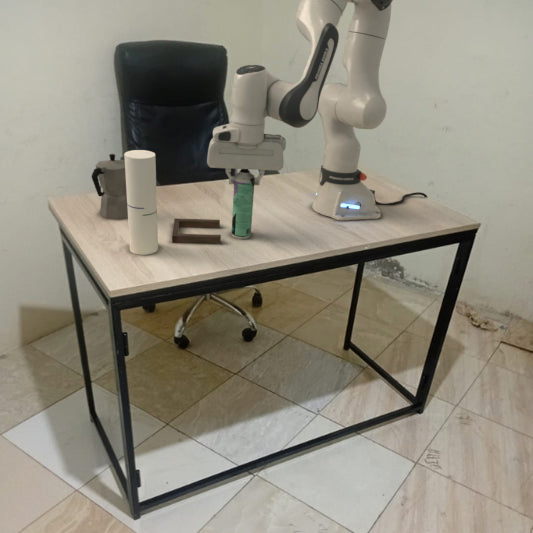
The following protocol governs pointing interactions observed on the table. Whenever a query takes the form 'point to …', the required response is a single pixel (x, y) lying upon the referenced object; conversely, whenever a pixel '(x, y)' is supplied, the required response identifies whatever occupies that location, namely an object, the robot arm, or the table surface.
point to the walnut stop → (195, 237)
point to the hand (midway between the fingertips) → (243, 184)
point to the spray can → (242, 204)
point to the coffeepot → (111, 187)
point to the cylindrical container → (141, 201)
